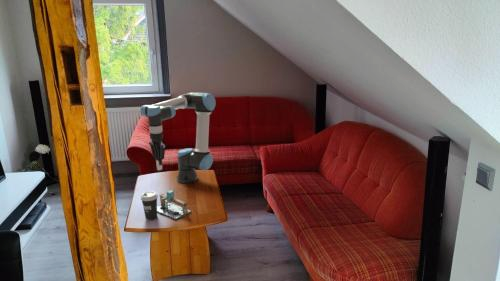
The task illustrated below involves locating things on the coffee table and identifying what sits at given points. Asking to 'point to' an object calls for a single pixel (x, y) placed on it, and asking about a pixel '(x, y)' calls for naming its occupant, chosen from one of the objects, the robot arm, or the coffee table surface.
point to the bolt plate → (172, 211)
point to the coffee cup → (150, 205)
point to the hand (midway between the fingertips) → (159, 169)
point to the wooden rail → (183, 204)
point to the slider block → (169, 197)
